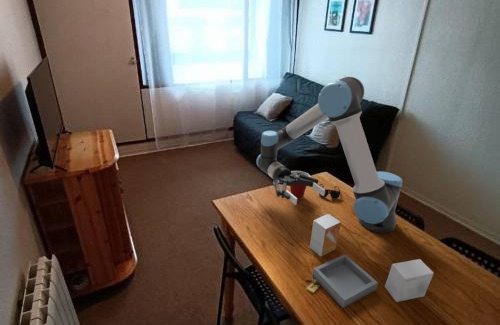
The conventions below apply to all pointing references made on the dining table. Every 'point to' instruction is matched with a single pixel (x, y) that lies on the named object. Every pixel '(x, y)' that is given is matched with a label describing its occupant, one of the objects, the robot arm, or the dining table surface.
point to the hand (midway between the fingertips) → (310, 197)
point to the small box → (324, 234)
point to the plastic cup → (298, 186)
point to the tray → (344, 280)
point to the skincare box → (408, 280)
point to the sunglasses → (331, 193)
